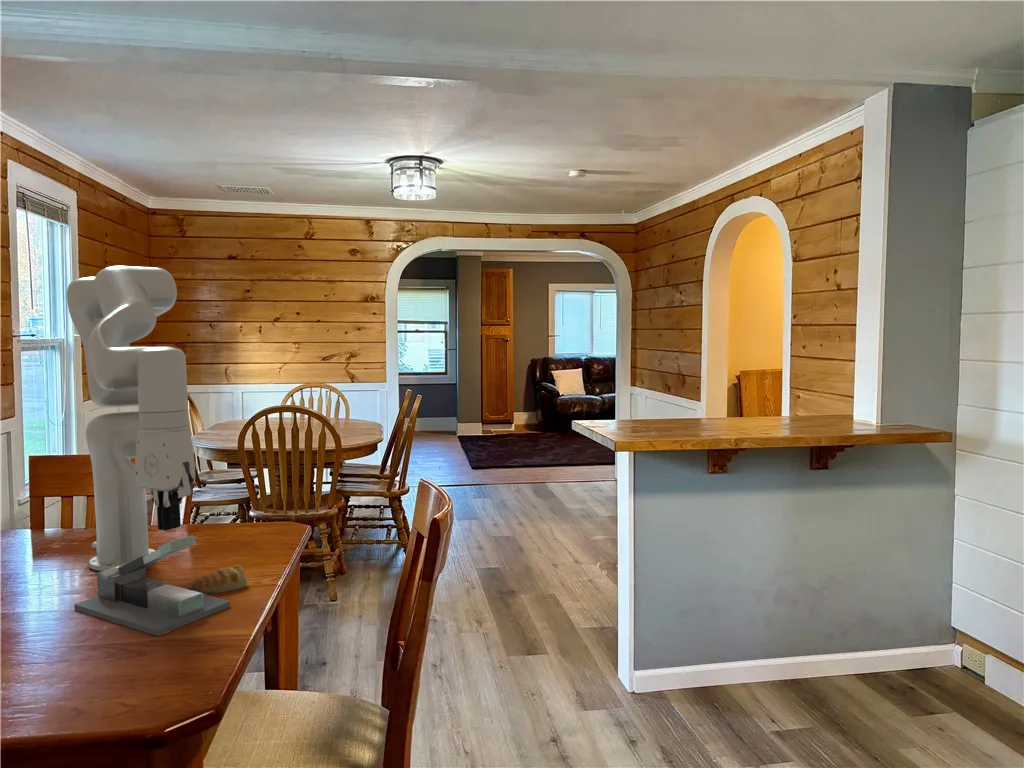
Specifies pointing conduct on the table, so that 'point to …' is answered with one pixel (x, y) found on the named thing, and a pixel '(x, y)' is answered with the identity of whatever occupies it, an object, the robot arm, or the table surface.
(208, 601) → the slate mat
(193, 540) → the bar
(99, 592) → the stand
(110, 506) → the robot arm
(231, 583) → the pastry
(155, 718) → the table surface
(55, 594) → the table surface
